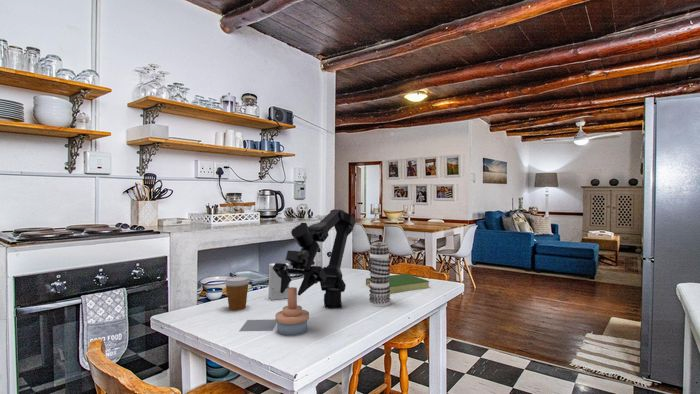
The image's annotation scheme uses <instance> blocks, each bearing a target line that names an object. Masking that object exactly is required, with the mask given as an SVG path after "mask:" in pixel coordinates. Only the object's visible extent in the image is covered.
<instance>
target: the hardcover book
mask: <svg viewBox="0 0 700 394" xmlns="http://www.w3.org/2000/svg"><path fill="white" fill-rule="evenodd" d="M370 281H371V277H369V278H368V277H367V278H366V279H365V286H368V287H369V286H370ZM429 283H430V280H427V279H424V278H422V277H421V278H420V277H419V276H415V275H412V274H409V273H402V274H392V275H389V286H390V289H389V290H390V292H389V294H396V293H403V292H408V291H409V292H410V291H415V290H423V289H429V286H430V284H429Z"/></svg>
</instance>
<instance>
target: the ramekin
mask: <svg viewBox="0 0 700 394" xmlns="http://www.w3.org/2000/svg"><path fill="white" fill-rule="evenodd" d="M308 320H309V319H308ZM308 320H307V321H305V322H302V323H298V324H282V323H278V322H277V323H276V332H277V334H279V335H282V336H289V337H290V336H293V337H294V336H299V335H302V334H305V333H306V332H308V329H309V327H308V324H309V323H308Z"/></svg>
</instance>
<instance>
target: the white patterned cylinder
mask: <svg viewBox="0 0 700 394" xmlns="http://www.w3.org/2000/svg"><path fill="white" fill-rule="evenodd" d="M369 247H370V250H369V252H370V253H369V255H368V257H367V259H368V263H369V264H368V271H369V276H370V278H371V281H370V286H368V288H369V296H368V297H369V304H370V305H371V306H376V307H385V306H388V305H390V304H391V302H390V301H391V293H389V292H390V290H389V289H390V286H389V276H391V273H390V272H391V269H390V267H391V264H390V263H391V262H392V261H390V260H389V259H390V258H391V255H390V253H389V248H390V245H388V243H387V242H385V241H374V242H371V245H370V246H369Z"/></svg>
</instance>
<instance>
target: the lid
mask: <svg viewBox="0 0 700 394" xmlns="http://www.w3.org/2000/svg"><path fill="white" fill-rule="evenodd" d="M275 319H276V321H277V322H278V323H282V324H298V323H302V322H305V321H307V320H310V312H309V311H308V310H306V309H303V307H302V306H301V305H298V289H297V287H294V286H291V287H290V286H289V288H288V298H287V305H285V306H283V307H282V310H280V311H278V312H276V313H275Z"/></svg>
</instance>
